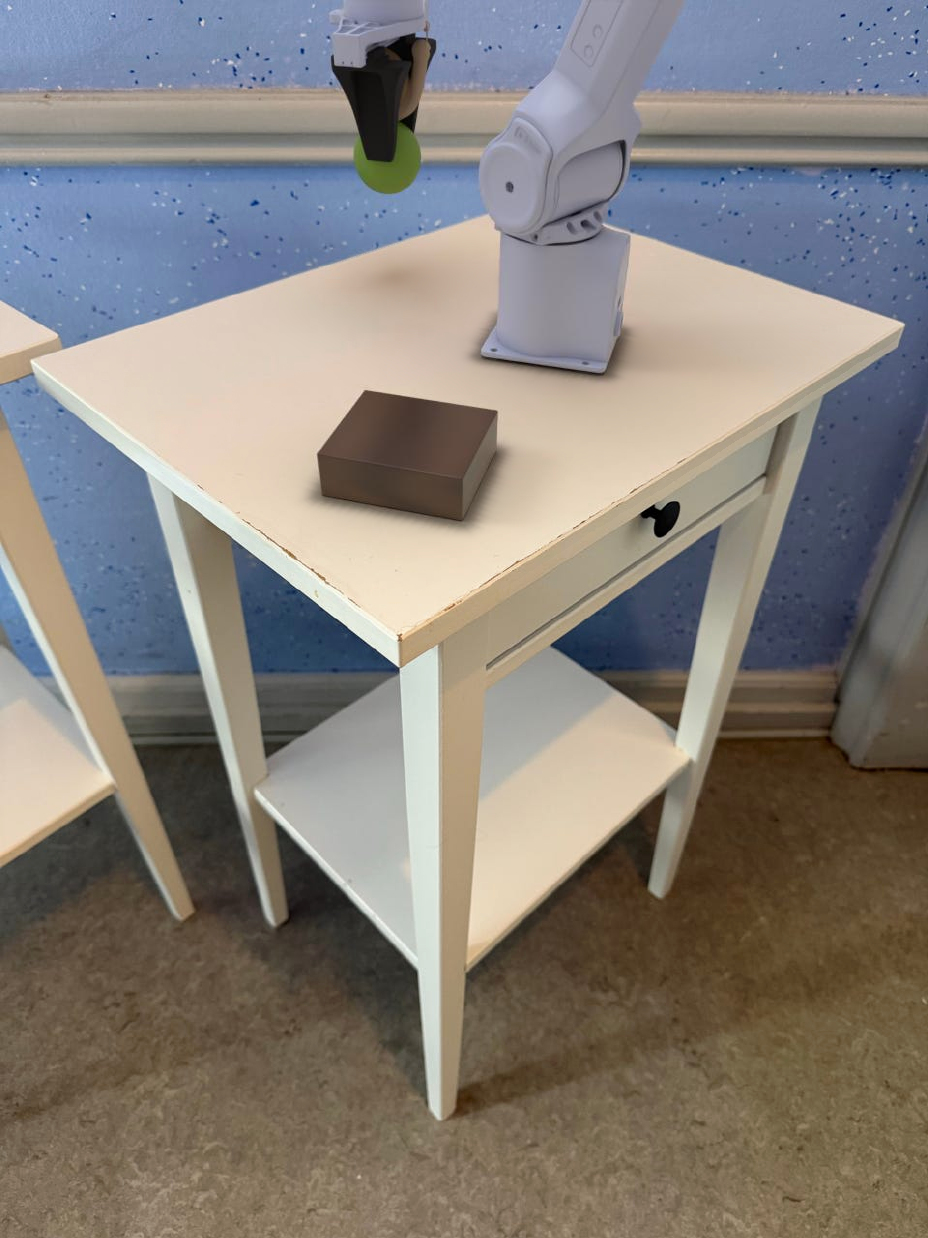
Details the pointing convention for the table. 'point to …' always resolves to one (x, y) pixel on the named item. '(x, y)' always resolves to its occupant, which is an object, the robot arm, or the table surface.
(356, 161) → the snail figurine
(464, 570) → the table surface
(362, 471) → the walnut block
